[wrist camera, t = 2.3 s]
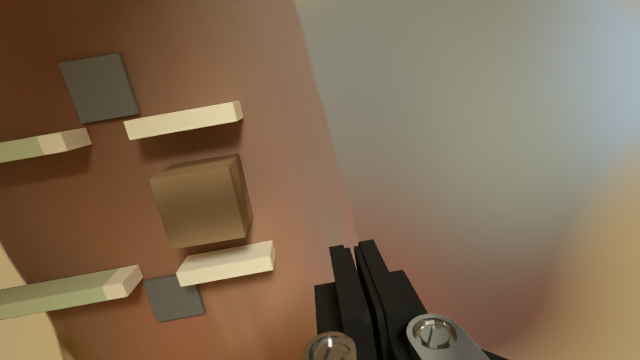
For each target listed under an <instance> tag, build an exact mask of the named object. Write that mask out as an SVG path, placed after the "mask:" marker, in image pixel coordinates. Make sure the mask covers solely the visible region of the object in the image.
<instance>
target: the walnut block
mask: <svg viewBox="0 0 640 360" xmlns="http://www.w3.org/2000/svg"><path fill="white" fill-rule="evenodd" d="M149 181H150V184H151V187H152V190H153V193H154V196H155V199H156V203H157V206H158V209H159V212H160V215H161V218H162V221H163V224H164V227H165V230H166V233H167V236H168V239H169V242H170V246H171V249H178V248H184V247H190V246H196V245H202V244H208V243H214V242H220V241H226V240H232V239H238V238H244V237H246V234H247V231H248V228H249V225H250V222H251V220H252V217H253V212H252V208H251V203H250V199H249V195H248V190H247V186H246V182H245V177H244V173H243V169H242V164H241V160H240V156H239V154H234V155H227V156H221V157H215V158H209V159H202V160H196V161H190V162H184V163H177V164H172V165H171V166H169V167H167V168H166V169H164V170H163V171H161V172H160V173H158V174H156V175H155V176H153V177H152V178H150V179H149Z"/></svg>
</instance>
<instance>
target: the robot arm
mask: <svg viewBox="0 0 640 360" xmlns="http://www.w3.org/2000/svg"><path fill="white" fill-rule="evenodd" d="M329 249H330V255H331V261H332V266H333V272H334V278H335V282H332V283H327V284H321V285H315V286H314V289H315V304H316V320H317V336H315V337H314V338H313V339H311V340H310V341H309V342H308V344H307V345H306V346H305V349H304V351H303V355H302V360H508V359H505V358H503V357H500V356H498V355H495V354H493V353H490V352H488V351H485V350H483V349H480V348H479V347H478V345H477V344H476V343H475V342H474V341H473V340H472V339H471V338H470V337H469V336H468V335H467V334H466V332H465V331H464V330H463V329H462V328H461V327H460V326H459V325H458V324H457V323H456V322H454V321H453V320H452V319H449V318H448V317H446V316H442V315H438V314H428V313H427V311H426V309H425V308H424V306H423V304H422V302H421V300H420V299H419V297H418V295H417V293H416V292H415V290H414V288H413V287H412V285H411V283H410V281H409V279H408V278H407V276H406V274H405V272H404V271H403V270H399V271H394V272H389V271H388V269H387V267H386V265H385V263H384V261H383V259H382V257H381V254H380V252H379V251H378V248H377V246H376V244H375V242H374V240H373V239H372V240H367V241H361V242H359V246H355V247H354V253H355V259H356V266H357V270H356V267H355V264H354V260H353V257H352V254H351V251H350V248H344V246H343V245H339V246H333V247H329ZM357 272H358V273H357Z"/></svg>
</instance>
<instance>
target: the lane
mask: <svg viewBox="0 0 640 360" xmlns="http://www.w3.org/2000/svg"><path fill="white" fill-rule="evenodd" d="M242 118H243V113H242V109H241V104H240V101H234V102H228V103H223V104H217V105H211V106H205V107H200V108H194V109H188V110H183V111H177V112H171V113H166V114H160V115H154V116H148V117H143V118H138V119H133V120H128V121H123V122H124V125H125V128H126V131H127V134H128V137H129V140H133V139H139V138H144V137H150V136H156V135H161V134H167V133H173V132H179V131H184V130H190V129H196V128H201V127H207V126H213V125H218V124H224V123H230V122H235V121H238V120H240V119H242ZM91 144H92V143H91V140H90V138H89V135H88V132H87V130H86V128H80V129H74V130H68V131H63V132H57V133H51V134H46V135H40V136H34V137H29V138H23V139H17V140H11V141H6V142H0V163H2V162H8V161H14V160H20V159H25V158H31V157H37V156H42V155H48V154H54V153H59V152H65V151H70V150H73V149H77V148H80V147H84V146H87V145H91ZM274 261H275V249H274V244H273V240H271V241H265V242H260V243H254V244H249V245H243V246H238V247H232V248H227V249H221V250H216V251H210V252H205V253H199V254H194V255H188V256H187V257H186V259H185V260H184V262H183V263H182V265H181V266H180V268H179V269H178V271H177V272H176V275H177V278H178V280H179V283H180V286H181V287H183V286H189V285H194V284H199V283H205V282H210V281H216V280H221V279H227V278H232V277H238V276H243V275H249V274H254V273H259V272H265V271H270V270H273V268H274ZM142 278H143V275H142V273H141V270H140V267H139V265H133V266H128V267H122V268H117V269H111V270H106V271H100V272H95V273H89V274H84V275H78V276H73V277H67V278H62V279H56V280H51V281H45V282H40V283H34V284H29V285H23V286H18V287H12V288H7V289H2V290H0V320H3V319H8V318H14V317H19V316H25V315H30V314H36V313H40V312H47V311H52V310H57V309H63V308H68V307H74V306H79V305H85V304H90V303H96V302H101V301H107V300H112V299H118V298H123V297H128V296H129V294H130V293H131V292H132V291H133V289H134V288H135V287H136V286H137V284H138V283H139V282H140V281H141V279H142Z"/></svg>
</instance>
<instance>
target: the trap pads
mask: <svg viewBox="0 0 640 360" xmlns="http://www.w3.org/2000/svg"><path fill="white" fill-rule="evenodd" d="M58 65H59V68H60V70H61V73H62V76H63V78H64V81H65V83H66V86H67V89H68V91H69V94H70V96H71V99H72V101H73V104H74V107H75V109H76V112H77V114H78V117H79V119H80V122H81V124H83V123H88V122H94V121H100V120H106V119H111V118H117V117H123V116H128V115H134V114H140V111H139V107H138V104H137V101H136V98H135V95H134V92H133V89H132V86H131V83H130V80H129V77H128V74H127V71H126V68H125V65H124V62H123V59H122V56H121V53H114V54H109V55H103V56H97V57H91V58H85V59H79V60H74V61H68V62H62V63H58ZM143 284H144V287H145V290H146V292H147V295H148V297H149V300H150V302H151V305H152V308H153V310H154V313H155V315H156V318H157V321H158V322H163V321H168V320H173V319H179V318H184V317H190V316H195V315H201V314H205V312H206V311H205V308H204V305H203V302H202V299H201V296H200V293H199V290H198V286H197V284H194V285H189V286H183V287H181V286H180V283H179V280H178V278H177V275H171V276H165V277H160V278H154V279H149V280H144V282H143Z"/></svg>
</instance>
